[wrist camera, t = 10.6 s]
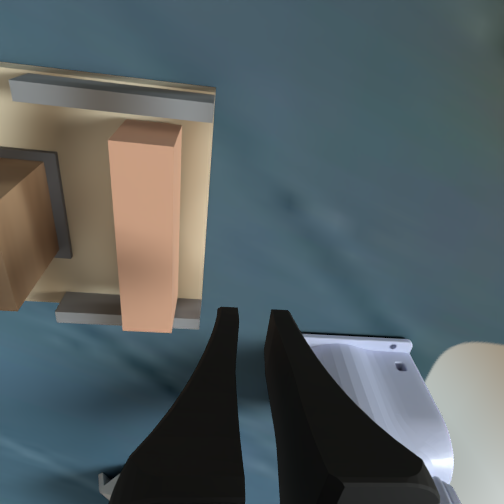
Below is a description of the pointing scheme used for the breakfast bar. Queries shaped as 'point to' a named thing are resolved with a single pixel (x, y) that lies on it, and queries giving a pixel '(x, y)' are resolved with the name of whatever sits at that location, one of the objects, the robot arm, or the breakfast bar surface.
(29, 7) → the breakfast bar surface
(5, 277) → the block
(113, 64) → the breakfast bar surface
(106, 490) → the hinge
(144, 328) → the block
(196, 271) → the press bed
